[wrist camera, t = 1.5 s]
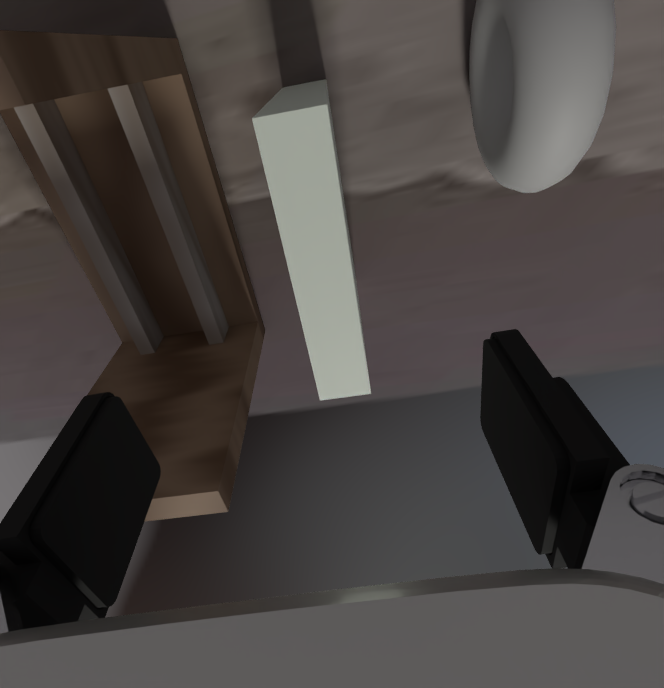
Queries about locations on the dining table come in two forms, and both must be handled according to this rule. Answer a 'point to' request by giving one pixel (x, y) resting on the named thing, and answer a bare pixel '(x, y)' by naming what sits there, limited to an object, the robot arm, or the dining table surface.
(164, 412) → the frame
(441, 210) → the dining table surface
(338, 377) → the door panel
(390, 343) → the dining table surface
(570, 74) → the donut
